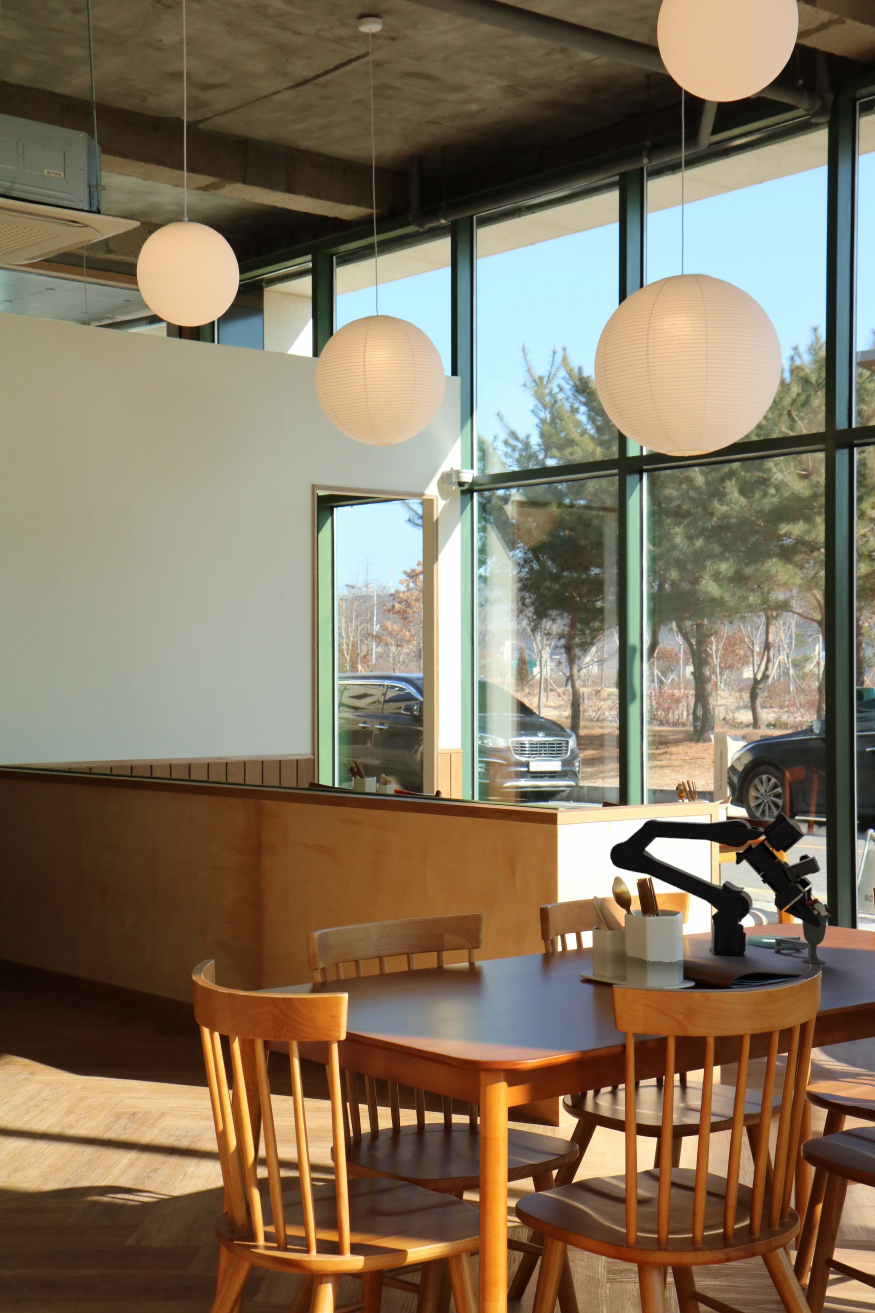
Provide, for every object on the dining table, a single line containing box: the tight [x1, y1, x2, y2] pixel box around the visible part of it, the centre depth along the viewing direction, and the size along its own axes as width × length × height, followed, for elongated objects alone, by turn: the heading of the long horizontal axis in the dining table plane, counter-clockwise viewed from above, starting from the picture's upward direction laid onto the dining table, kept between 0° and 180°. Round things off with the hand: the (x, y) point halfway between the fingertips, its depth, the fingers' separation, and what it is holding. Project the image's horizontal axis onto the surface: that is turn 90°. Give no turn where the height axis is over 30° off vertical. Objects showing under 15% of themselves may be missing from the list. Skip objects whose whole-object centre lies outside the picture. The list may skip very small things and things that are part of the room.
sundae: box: [800, 891, 832, 965], centre depth 280 cm, size 7×7×15 cm
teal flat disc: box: [746, 934, 806, 950], centre depth 301 cm, size 13×13×1 cm
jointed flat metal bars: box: [774, 935, 811, 958], centre depth 289 cm, size 7×10×3 cm
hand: (821, 924), depth 279 cm, fingers closed on sundae, 7 cm apart
